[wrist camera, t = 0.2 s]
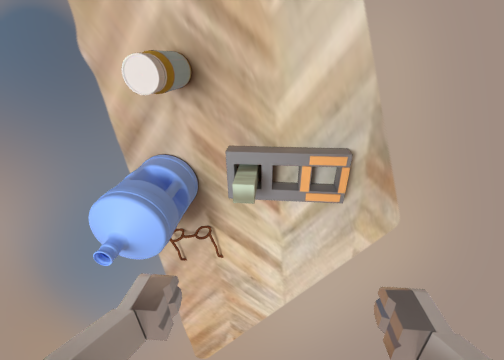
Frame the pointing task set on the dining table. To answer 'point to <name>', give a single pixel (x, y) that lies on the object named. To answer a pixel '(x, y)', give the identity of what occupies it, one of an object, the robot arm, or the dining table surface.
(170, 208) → the water jug
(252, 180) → the peg
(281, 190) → the board
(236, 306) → the dining table surface
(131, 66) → the lidded canister
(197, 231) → the glasses
